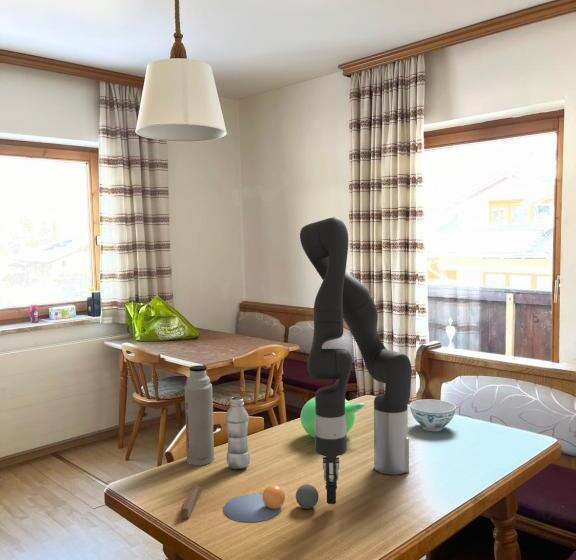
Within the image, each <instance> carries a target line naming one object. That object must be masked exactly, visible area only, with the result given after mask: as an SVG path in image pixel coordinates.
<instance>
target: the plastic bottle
mask: <svg viewBox="0 0 576 560" xmlns="http://www.w3.org/2000/svg"><path fill="white" fill-rule="evenodd" d="M229 402H230V403H229V406H230V407H229V409H228V410H227V412H226V413H225V423H226V424H225V425H226V429H227V430H226V431H227V440H228V441H227V453H226V464H227V466H228V467H229V468H230V469H234V470H242V469H246V468H247V467H248V466H249V464H250V461H251V454H250V450H249V444H248V428H249V427H248V426H249V414H248V411H247V410H246V409H245V407H244V405H245V403H244V398H243V397H242V396H233V397H230V399H229Z"/></svg>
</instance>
